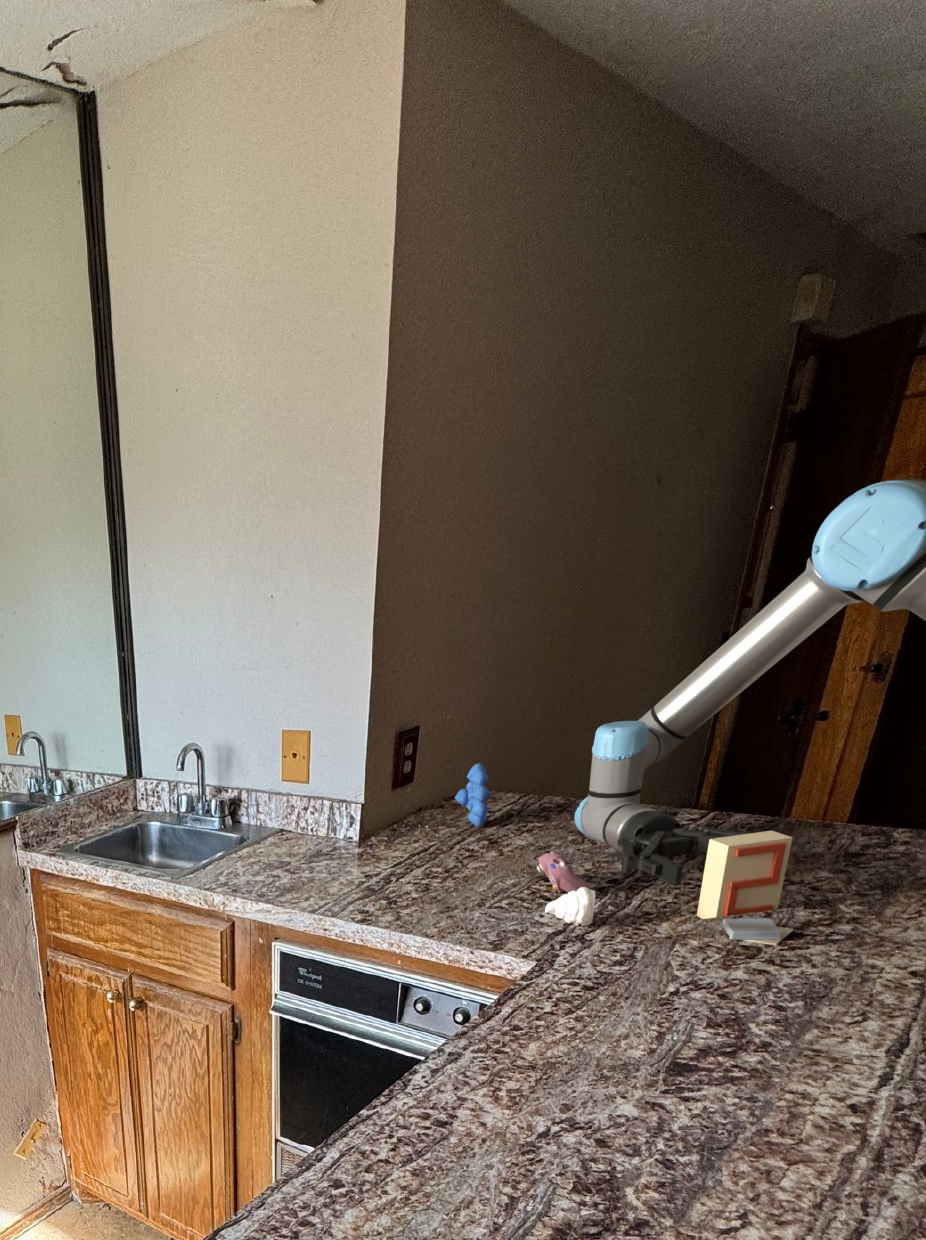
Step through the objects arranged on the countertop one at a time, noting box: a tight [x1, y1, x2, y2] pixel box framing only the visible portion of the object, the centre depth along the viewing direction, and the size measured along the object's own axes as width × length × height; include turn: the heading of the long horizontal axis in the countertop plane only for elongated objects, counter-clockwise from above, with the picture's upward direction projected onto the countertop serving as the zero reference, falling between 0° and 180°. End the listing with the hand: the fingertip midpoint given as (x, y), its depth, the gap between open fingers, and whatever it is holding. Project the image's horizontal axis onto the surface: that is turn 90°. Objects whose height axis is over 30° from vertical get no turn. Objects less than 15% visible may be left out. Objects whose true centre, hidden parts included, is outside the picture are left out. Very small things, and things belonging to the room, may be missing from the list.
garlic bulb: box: [544, 887, 596, 927], centre depth 127 cm, size 6×6×5 cm
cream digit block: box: [696, 830, 793, 920], centre depth 119 cm, size 8×4×11 cm, turn 89°
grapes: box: [454, 762, 491, 828], centre depth 178 cm, size 12×7×12 cm, turn 166°
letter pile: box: [721, 917, 795, 946], centre depth 111 cm, size 12×10×3 cm
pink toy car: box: [536, 851, 591, 894], centre depth 140 cm, size 10×5×7 cm, turn 168°
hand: (731, 868), depth 121 cm, fingers open, 13 cm apart
